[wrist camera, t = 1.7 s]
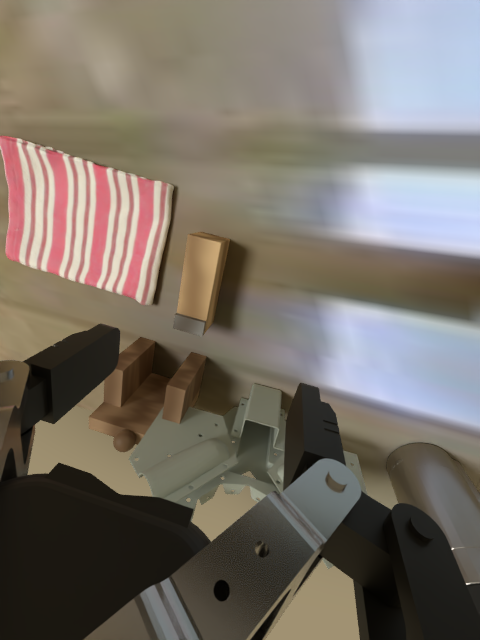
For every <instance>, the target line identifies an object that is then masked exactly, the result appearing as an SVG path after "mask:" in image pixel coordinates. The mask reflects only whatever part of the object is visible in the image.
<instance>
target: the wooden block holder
mask: <svg viewBox="0 0 480 640" xmlns="http://www.w3.org/2000/svg"><path fill="white" fill-rule="evenodd" d="M154 349H155V341H152V340H149V339H145V338H142V337H140V338H139V339H138V340H136V341H135V342H134V343H133V344H131V345H130V346H129V347H128V348H126V349H125V350H124V351H123V352H121V353H120V354H119V360H118V364H117V366H116V368H115V370H114V371H113V372H112V373H111V374H110V375H109V376H108V377H107V378H106V379H105V382H104V402H103V403H102V404H101V405H100V406H99V407H98V408H97V409H96V410H95V411H94V412H93V413H92V414H91V415H90V416H89V429H92V430H95V431H98V432H101V433H104V434H107V435H110V436H113V437H114V441H113V444H114V447H115V448H116V450H118V451H120V452H126V451H128V450H130V449H131V448H133V446H134V445H135V444H137V445H138V444H139V442H140V441H141V439H142V438H143V436H144V435H145V434H146V432H147V431H148V429H149V428H150V426H151V425H152V423H153V422H154V420H155V419H156V417H157V416H158V414H159V413H160V411H161V410H162V408H163V407H164V408H163V415H162V419H165V420H168V421H171V422H175V423H178V424H180V422H181V420H182V419H183V417H184V415H185V413H186V411H187V410H188V408H189V407H192V408H193V406H194V405H195V403H196V401H197V399H198V396H199V391H200V387H201V382H202V377H203V372H204V367H205V362H206V356H203V355H199V354H196V353H193V352H191V353H190V354H189V356H188V357H187V358H186V360H185V361H184V362H183V364H182V365H181V366H180V368H179V369H178V370H177V372H176V373H175V374H174V376H173V377H172V378H171V379H170V378H167V377H164V376H161V375H157V374H154V373H152V367H153V358H154Z"/></svg>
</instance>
